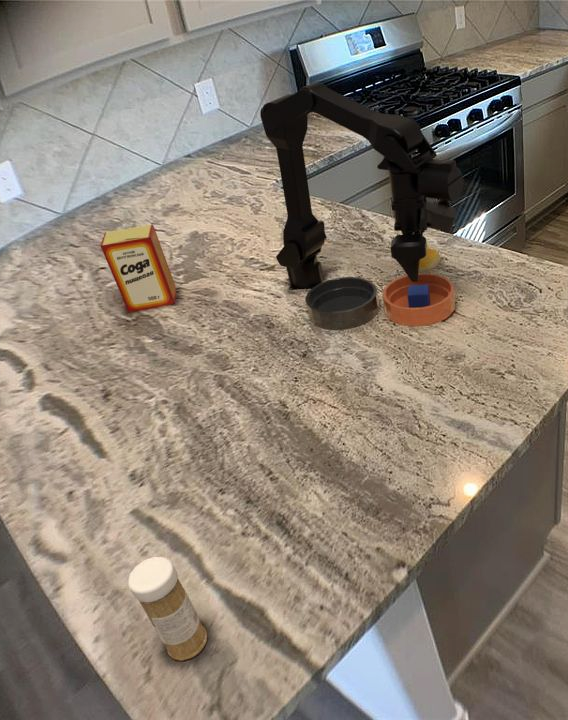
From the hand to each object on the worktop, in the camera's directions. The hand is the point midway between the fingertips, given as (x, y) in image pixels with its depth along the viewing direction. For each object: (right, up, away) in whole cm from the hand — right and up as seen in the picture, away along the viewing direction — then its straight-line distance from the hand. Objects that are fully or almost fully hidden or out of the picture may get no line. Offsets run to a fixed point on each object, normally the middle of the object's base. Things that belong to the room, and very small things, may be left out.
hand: (416, 269), depth 129 cm
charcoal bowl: (-15, -8, +6) cm, 18 cm away
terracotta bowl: (0, -7, +5) cm, 9 cm away
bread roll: (0, +4, +22) cm, 22 cm away
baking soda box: (-58, -5, +15) cm, 60 cm away
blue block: (0, -7, +5) cm, 9 cm away
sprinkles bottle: (-23, -51, -52) cm, 76 cm away
